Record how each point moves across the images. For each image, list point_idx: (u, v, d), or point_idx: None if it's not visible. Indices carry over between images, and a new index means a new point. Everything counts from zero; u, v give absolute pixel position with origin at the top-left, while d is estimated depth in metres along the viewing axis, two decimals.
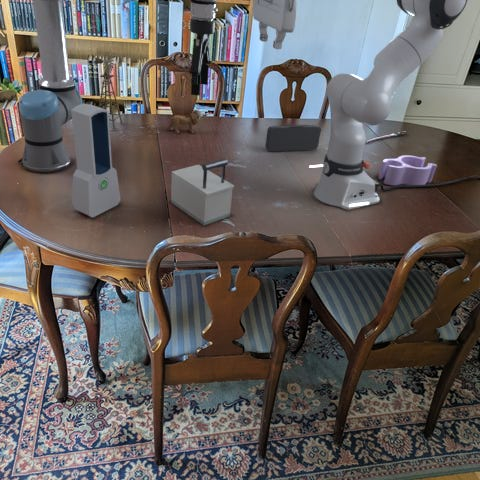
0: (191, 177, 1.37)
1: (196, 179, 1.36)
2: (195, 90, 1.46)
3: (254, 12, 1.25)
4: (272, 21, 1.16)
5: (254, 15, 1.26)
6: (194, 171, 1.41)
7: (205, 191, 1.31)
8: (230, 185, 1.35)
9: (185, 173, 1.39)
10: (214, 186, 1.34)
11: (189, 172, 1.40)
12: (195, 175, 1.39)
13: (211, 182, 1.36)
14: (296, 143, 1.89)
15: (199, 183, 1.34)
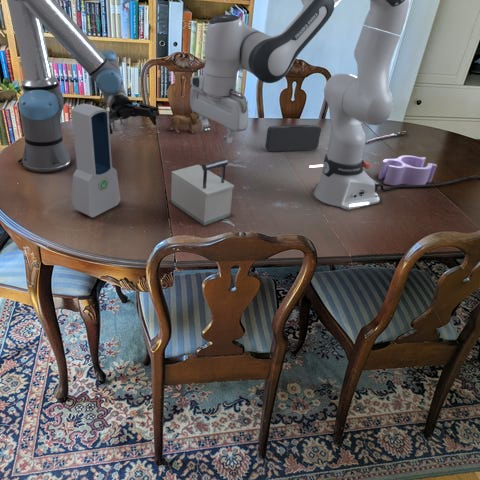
0: (191, 177, 1.37)
1: (196, 179, 1.36)
2: None
3: (193, 105, 1.27)
4: (222, 120, 1.20)
5: (193, 107, 1.27)
6: (194, 171, 1.41)
7: (205, 191, 1.31)
8: (230, 185, 1.35)
9: (185, 173, 1.39)
10: (214, 186, 1.34)
11: (189, 172, 1.40)
12: (195, 175, 1.39)
13: (211, 182, 1.36)
14: (296, 143, 1.89)
15: (199, 183, 1.34)
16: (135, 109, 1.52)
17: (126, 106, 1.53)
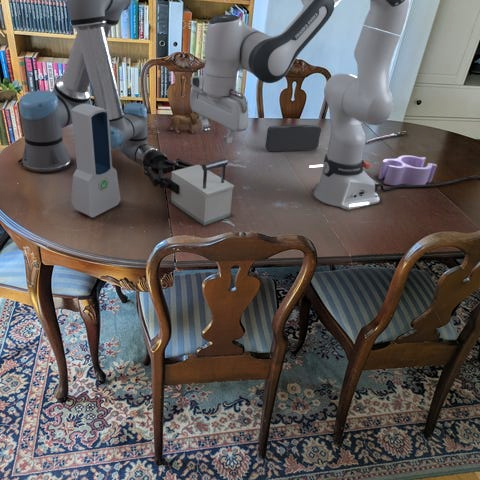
0: (191, 177, 1.37)
1: (196, 179, 1.36)
2: None
3: (193, 105, 1.27)
4: (222, 120, 1.20)
5: (193, 107, 1.27)
6: (194, 171, 1.41)
7: (205, 191, 1.31)
8: (230, 185, 1.35)
9: (185, 173, 1.39)
10: (214, 186, 1.34)
11: (189, 172, 1.40)
12: (195, 175, 1.39)
13: (211, 182, 1.36)
14: (296, 143, 1.89)
15: (199, 183, 1.34)
16: (176, 166, 1.51)
17: (166, 162, 1.51)
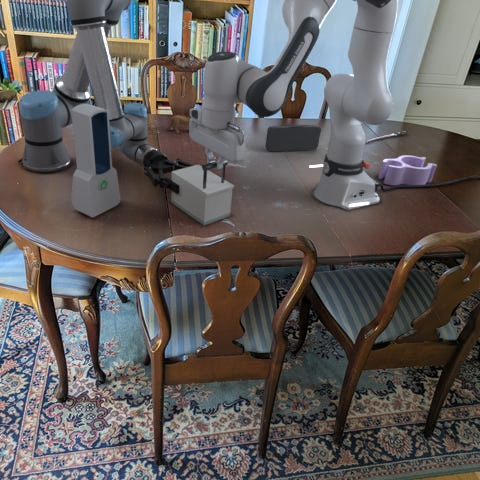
0: (191, 177, 1.37)
1: (196, 179, 1.36)
2: None
3: (192, 135, 1.31)
4: (220, 151, 1.24)
5: (192, 137, 1.32)
6: (194, 171, 1.41)
7: (205, 191, 1.31)
8: (230, 185, 1.35)
9: (185, 173, 1.39)
10: (214, 186, 1.34)
11: (189, 172, 1.40)
12: (195, 175, 1.39)
13: (211, 182, 1.36)
14: (296, 143, 1.89)
15: (199, 183, 1.34)
16: (176, 166, 1.51)
17: (166, 162, 1.51)
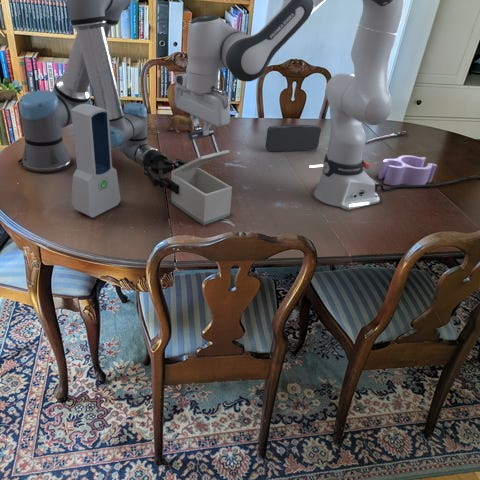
0: None
1: None
2: None
3: (177, 102, 1.32)
4: (205, 116, 1.24)
5: (177, 104, 1.32)
6: None
7: None
8: (225, 150, 1.32)
9: None
10: None
11: None
12: None
13: None
14: (296, 143, 1.89)
15: None
16: (176, 166, 1.51)
17: (166, 162, 1.51)
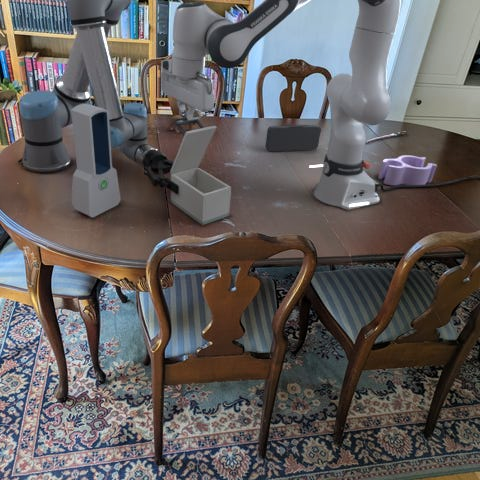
0: None
1: None
2: None
3: (163, 87, 1.34)
4: (190, 101, 1.27)
5: (164, 90, 1.35)
6: None
7: None
8: None
9: None
10: None
11: None
12: None
13: None
14: (296, 143, 1.89)
15: None
16: None
17: (166, 162, 1.51)
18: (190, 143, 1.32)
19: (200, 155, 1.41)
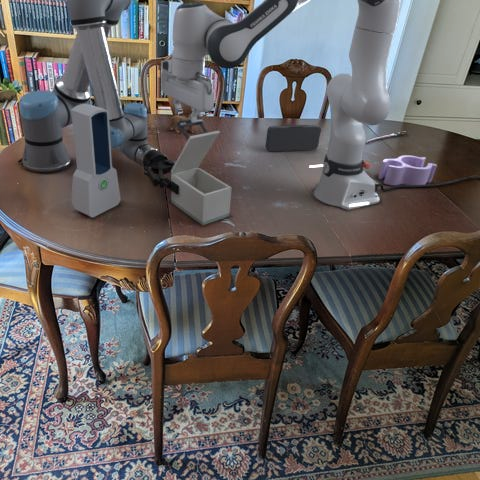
0: None
1: None
2: None
3: (163, 88, 1.34)
4: (190, 101, 1.27)
5: (164, 90, 1.35)
6: None
7: None
8: None
9: None
10: None
11: None
12: None
13: None
14: (296, 143, 1.89)
15: None
16: None
17: (166, 162, 1.51)
18: (193, 147, 1.31)
19: (201, 157, 1.40)
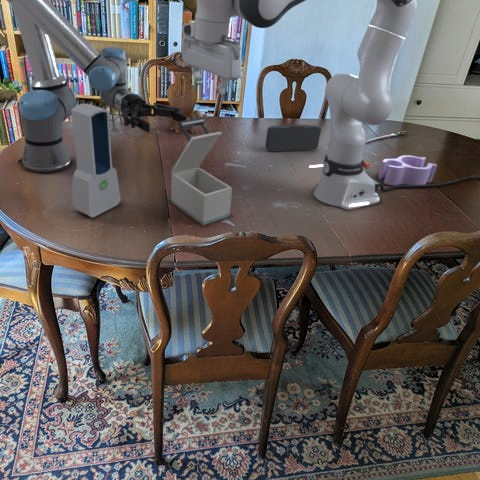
0: None
1: None
2: None
3: (184, 56, 1.23)
4: (215, 68, 1.16)
5: (184, 59, 1.23)
6: None
7: None
8: None
9: None
10: None
11: None
12: None
13: None
14: (296, 143, 1.89)
15: None
16: (155, 109, 1.51)
17: (144, 105, 1.50)
18: (194, 147, 1.31)
19: (202, 157, 1.40)
